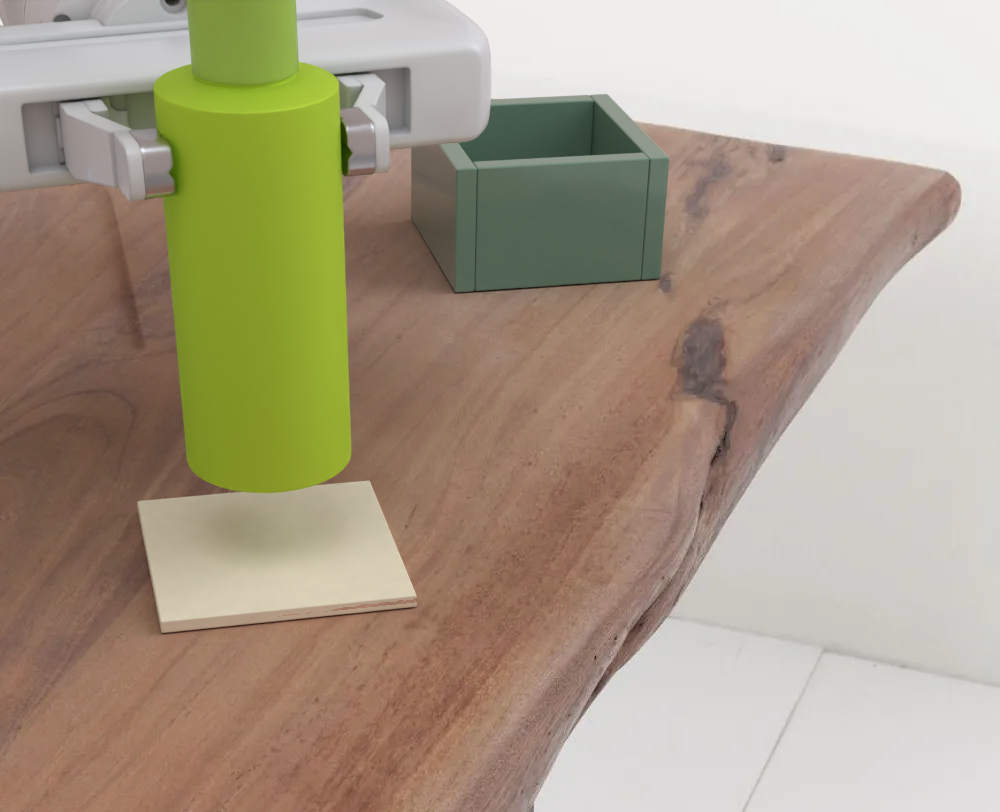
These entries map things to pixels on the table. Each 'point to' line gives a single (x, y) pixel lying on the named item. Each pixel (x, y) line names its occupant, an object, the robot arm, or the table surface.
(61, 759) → the table surface
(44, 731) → the table surface
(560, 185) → the holder
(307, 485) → the soap dispenser
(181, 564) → the mat
